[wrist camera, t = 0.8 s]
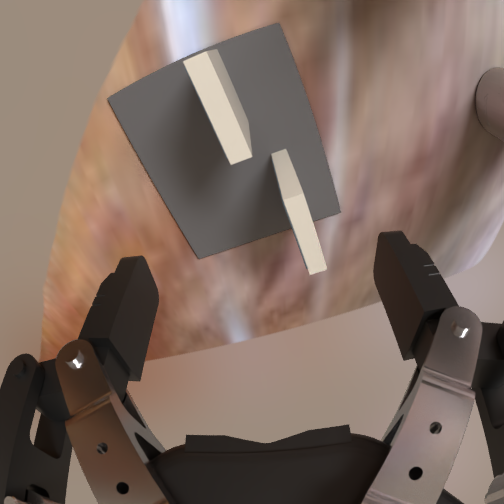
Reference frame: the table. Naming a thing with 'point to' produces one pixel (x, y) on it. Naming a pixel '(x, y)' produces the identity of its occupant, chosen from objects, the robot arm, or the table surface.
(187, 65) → the tile
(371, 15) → the table surface
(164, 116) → the mat
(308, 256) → the tile
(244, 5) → the table surface
